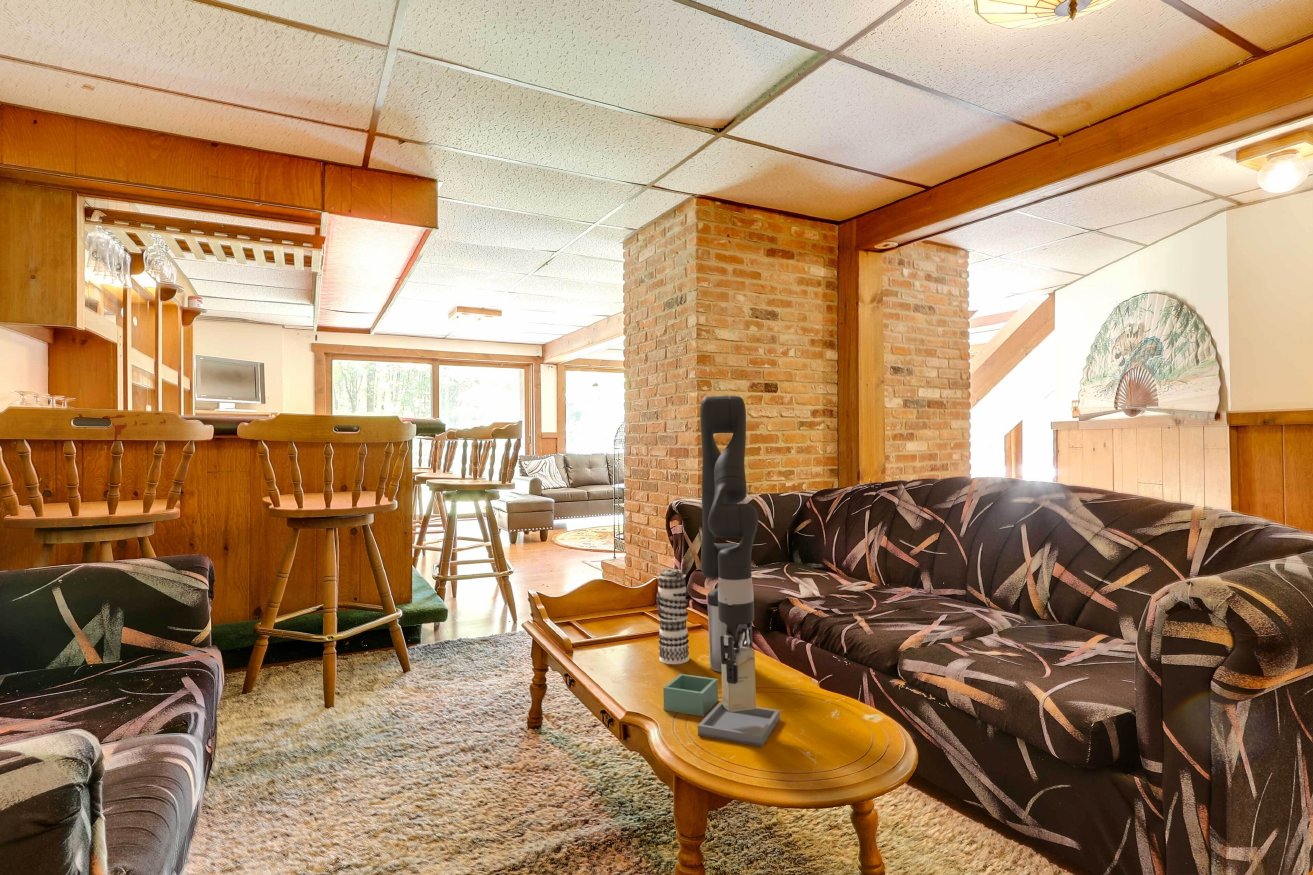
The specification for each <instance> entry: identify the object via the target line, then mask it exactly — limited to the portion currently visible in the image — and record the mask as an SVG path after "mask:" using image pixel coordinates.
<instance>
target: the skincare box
mask: <svg viewBox="0 0 1313 875" xmlns="http://www.w3.org/2000/svg"><path fill="white" fill-rule="evenodd" d="M734 649H737V648H734ZM755 652H756V651H755V650H754V649H753V647H752V648H750V647H748V646H742V651H741V654H740V655H739V656H738V664H737V665H738V682H737V683H736V684H732V683H728V682H727V671H726V664H722V663H721V670H722V672H721V701H722V705H723V706H724V707H725V708H726V709H727V710H728V711H729V712H734V711H743V710H751V709H756V707H757V699H756V698H757V696H756V694H757V693H756V691H757V690H756V660H755V658H756V656H755V655H756V653H755ZM725 654H726V653H725ZM734 655H735V654H734ZM729 659H730V654H729Z"/></svg>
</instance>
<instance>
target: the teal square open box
mask: <svg viewBox="0 0 1313 875" xmlns="http://www.w3.org/2000/svg"><path fill="white" fill-rule="evenodd" d="M662 692H663V711H668V712H675V713H680V714H686V715H691V716H692V715H693V716H698V717H704V716H706V715H707V713H709V712H710V710H711V709H713V707H715V706H716V705H717V704H718V703H719V679H718V678H714V677H707V676H706V677H705V676H700V675H691V674H686V673H685V674H684V673H679V674H678V675H676V677H675V678H673V679H671V681H669V682H668V683H667V684H666V685H665V686H664V687H663V690H662Z"/></svg>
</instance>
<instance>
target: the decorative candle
mask: <svg viewBox="0 0 1313 875" xmlns="http://www.w3.org/2000/svg"><path fill="white" fill-rule="evenodd" d="M686 576H687V575H686V574H684V572H683V571H682V570H681V569H677V568H667V569H663V570H661V572H660V574H658V575H657V577H658V586H657V588H658V589H657V590H658V592H656V598H657V599H656V604H657V607H656V609H657V610H658V612H657V618H658V620H659V634H658V638H659V640H658V643H659V645H658V650H659V652H658V655H659V657H658V658H659V659H658V660H659V661H660V662H661V663H662V664H667V665H680V664H685V663H688V662H689V661H690V657H689V655H690V652H689V649H690V646H689V642H690V640H689V639H688V638H689V633H688V627H687V619H688V618H689V616H688V615H689V613H688V612H687V611H686V610H687V609H688V608H689V605H687V604H688V603H689V599H687V598H686V597H687V596H688V595H689V592H687V586H686Z"/></svg>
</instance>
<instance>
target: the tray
mask: <svg viewBox="0 0 1313 875" xmlns="http://www.w3.org/2000/svg"><path fill="white" fill-rule="evenodd" d="M780 720H781V710H779V709H774V708H766V707H759V706H756V709H751V710H743V711H734V712H729V711H728V710H727V709H726V708H725V707H724V706H723V705H722V700H720V701H718V702H717V703H716V704H715V706H714V708H712V710H711V711H709V712H708V714H706V715H705V717H703V719H702V720H701V721H700V723H698V724H697V736H700V737H705V738H710V739H716V740H721V741H725V742H726V741H728V742H731V743H732V742H733V743H738V744H742V745H743V744H744V745H749V746H754V747H760V748H762V747H764V745H765V743H766V742H767V741H768V739H769V737H771V734H772V733H773V731H774V730H775V728H776V727H777V725H778V724H779V722H780ZM777 723H778V724H777Z"/></svg>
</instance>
